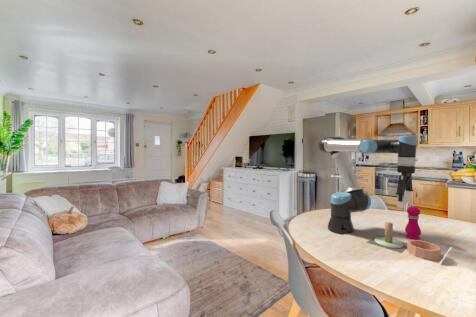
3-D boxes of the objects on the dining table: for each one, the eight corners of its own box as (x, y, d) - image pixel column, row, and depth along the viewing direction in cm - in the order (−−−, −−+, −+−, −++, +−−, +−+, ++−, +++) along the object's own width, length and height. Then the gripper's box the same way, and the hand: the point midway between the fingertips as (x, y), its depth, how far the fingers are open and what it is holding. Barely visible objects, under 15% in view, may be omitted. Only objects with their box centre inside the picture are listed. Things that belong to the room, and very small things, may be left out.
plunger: (370, 242, 121) (370, 222, 120) (379, 236, 129) (380, 217, 128) (398, 251, 111) (399, 229, 110) (406, 243, 119) (407, 223, 118)
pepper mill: (414, 242, 122) (415, 206, 122) (401, 237, 129) (402, 203, 128) (424, 240, 124) (425, 205, 123) (411, 235, 131) (411, 202, 130)
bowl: (404, 254, 108) (404, 244, 108) (411, 247, 116) (412, 238, 116) (436, 264, 99) (437, 253, 99) (442, 255, 106) (442, 245, 106)
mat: (366, 243, 121) (366, 242, 121) (377, 236, 131) (377, 235, 131) (401, 254, 109) (401, 252, 109) (411, 245, 118) (411, 244, 118)
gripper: (408, 167, 105) (406, 211, 106) (420, 164, 121) (418, 202, 123) (390, 166, 111) (388, 208, 112) (403, 163, 127) (402, 199, 128)
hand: (404, 205), depth 117 cm, fingers open, 13 cm apart
